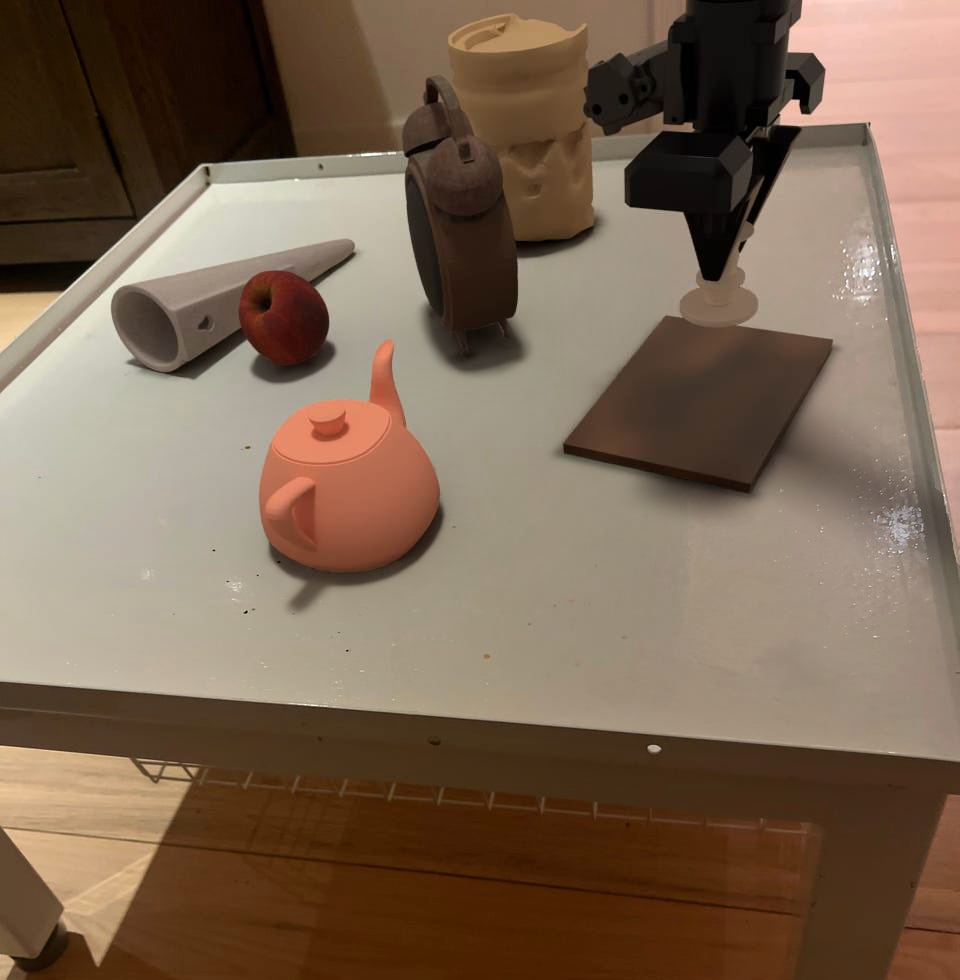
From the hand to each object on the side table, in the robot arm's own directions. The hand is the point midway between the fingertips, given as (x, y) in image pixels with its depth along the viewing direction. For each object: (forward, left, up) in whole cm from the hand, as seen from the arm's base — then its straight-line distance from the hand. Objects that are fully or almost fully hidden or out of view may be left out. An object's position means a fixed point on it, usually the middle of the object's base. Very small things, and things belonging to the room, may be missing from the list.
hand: (722, 266), depth 63 cm
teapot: (+19, +20, -12) cm, 30 cm away
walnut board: (+2, -2, -12) cm, 12 cm away
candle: (0, 0, -3) cm, 3 cm away
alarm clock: (+25, -6, -12) cm, 28 cm away
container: (+29, -26, -12) cm, 41 cm away
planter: (+49, -4, -12) cm, 50 cm away
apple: (+38, +3, -12) cm, 39 cm away
